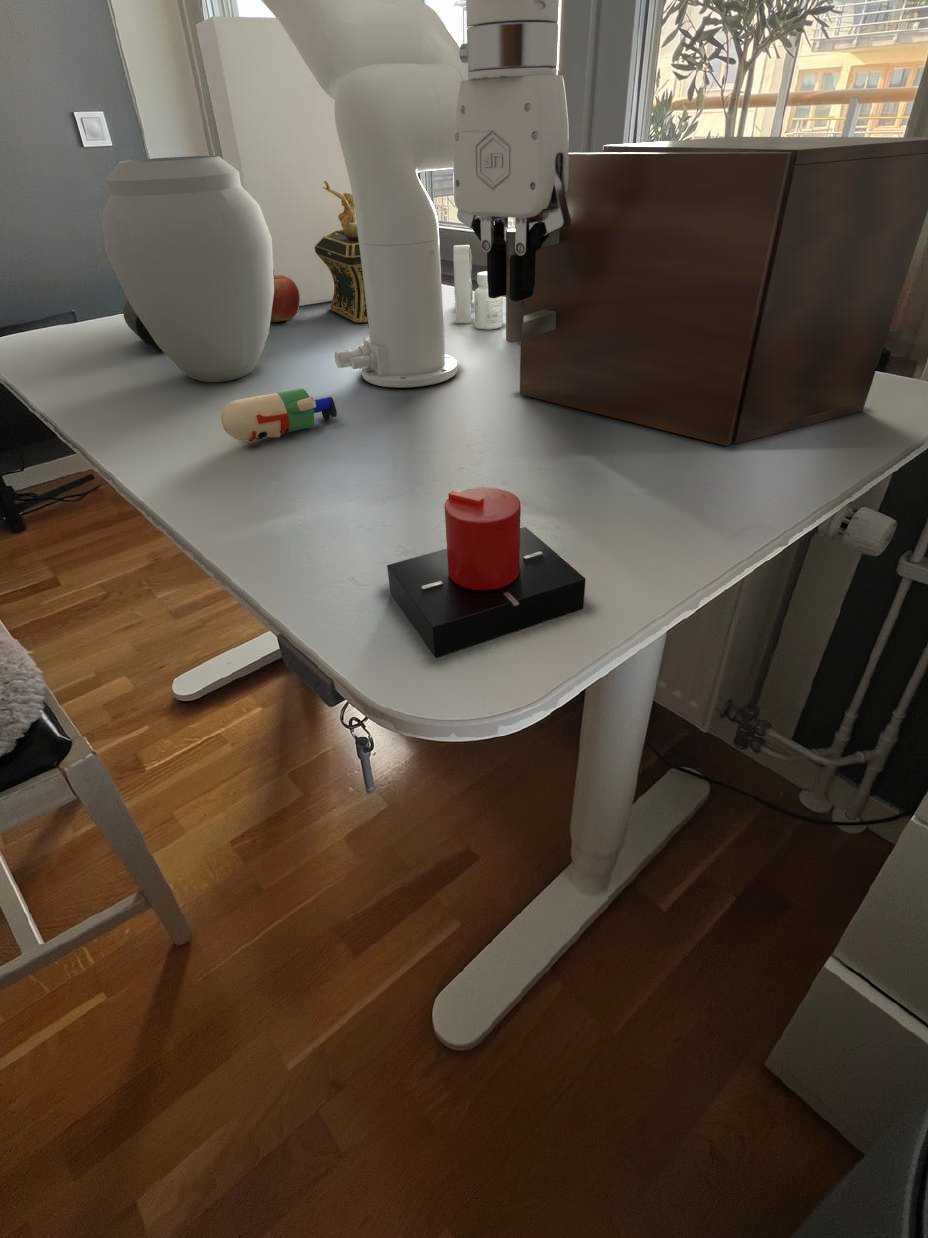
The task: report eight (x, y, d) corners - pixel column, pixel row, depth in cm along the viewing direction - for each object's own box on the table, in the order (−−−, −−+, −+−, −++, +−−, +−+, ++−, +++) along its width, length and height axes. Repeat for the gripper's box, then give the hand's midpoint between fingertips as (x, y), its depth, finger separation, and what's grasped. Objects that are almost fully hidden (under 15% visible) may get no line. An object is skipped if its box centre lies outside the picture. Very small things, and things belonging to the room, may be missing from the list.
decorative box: (321, 308, 122) (301, 179, 110) (370, 301, 125) (356, 174, 113) (363, 331, 107) (345, 185, 96) (417, 322, 111) (406, 180, 99)
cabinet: (734, 444, 66) (798, 149, 52) (586, 375, 85) (602, 145, 71) (863, 410, 72) (952, 137, 58) (697, 353, 91) (733, 136, 77)
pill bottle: (507, 324, 107) (507, 271, 103) (493, 331, 105) (493, 276, 100) (484, 322, 109) (483, 269, 105) (470, 328, 107) (468, 274, 102)
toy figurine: (321, 432, 79) (221, 453, 73) (310, 392, 78) (207, 411, 72) (349, 419, 72) (240, 441, 66) (337, 376, 71) (226, 394, 65)
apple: (282, 313, 120) (272, 263, 115) (313, 318, 116) (305, 266, 111) (246, 323, 115) (235, 271, 110) (278, 328, 111) (268, 275, 106)
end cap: (131, 342, 107) (117, 296, 103) (177, 335, 110) (164, 290, 106) (144, 356, 100) (129, 307, 96) (192, 348, 103) (179, 300, 99)
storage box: (269, 310, 122) (212, 15, 98) (252, 300, 129) (195, 24, 105) (374, 294, 130) (344, 18, 106) (352, 285, 137) (320, 26, 113)
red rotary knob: (531, 562, 46) (533, 491, 43) (498, 598, 42) (497, 524, 39) (471, 546, 48) (468, 477, 45) (434, 579, 45) (429, 507, 41)
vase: (294, 348, 101) (258, 151, 86) (296, 388, 86) (253, 157, 71) (159, 361, 98) (98, 159, 83) (136, 405, 83) (57, 167, 68)
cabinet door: (693, 469, 62) (749, 158, 48) (481, 410, 76) (476, 158, 62) (731, 442, 66) (793, 152, 52) (524, 391, 81) (528, 153, 67)
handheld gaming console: (473, 314, 122) (472, 323, 109) (457, 315, 122) (455, 323, 109) (471, 244, 117) (470, 244, 103) (455, 245, 117) (452, 245, 104)
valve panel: (438, 663, 42) (436, 629, 40) (387, 591, 48) (383, 559, 47) (587, 613, 45) (590, 580, 44) (521, 552, 52) (522, 521, 50)
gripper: (411, 62, 57) (426, 295, 69) (571, 47, 49) (558, 315, 60) (466, 63, 62) (471, 282, 73) (620, 49, 54) (599, 298, 65)
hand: (510, 295), depth 67 cm, fingers closed on cabinet door, 2 cm apart
